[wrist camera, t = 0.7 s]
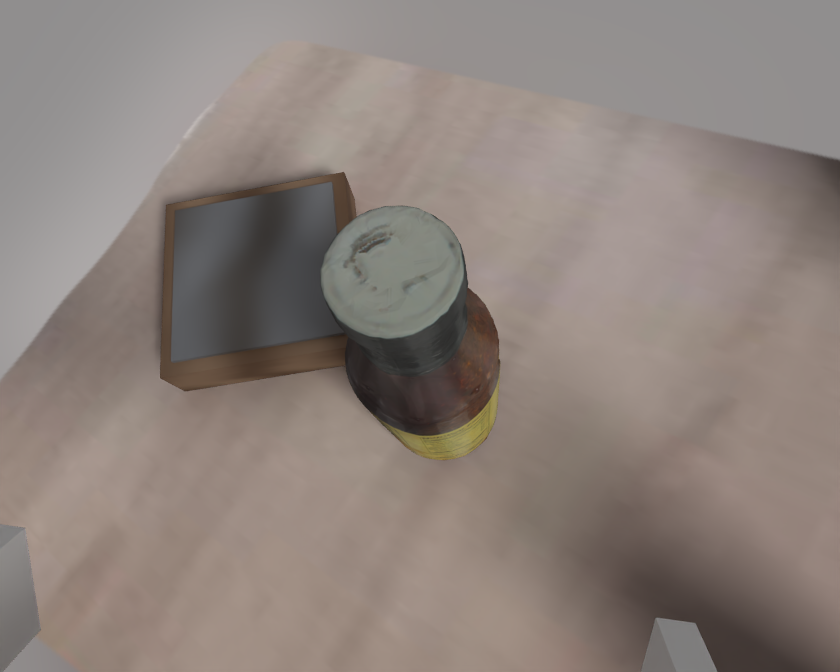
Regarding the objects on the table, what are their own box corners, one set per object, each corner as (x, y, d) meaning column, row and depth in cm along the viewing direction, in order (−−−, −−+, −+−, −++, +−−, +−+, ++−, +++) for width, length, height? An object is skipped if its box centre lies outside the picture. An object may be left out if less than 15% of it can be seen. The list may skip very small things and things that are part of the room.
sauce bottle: (392, 363, 36) (284, 159, 17) (494, 358, 35) (496, 140, 17) (391, 472, 33) (266, 371, 15) (501, 468, 33) (512, 358, 14)
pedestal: (354, 198, 40) (342, 169, 37) (371, 361, 36) (360, 343, 33) (188, 228, 41) (163, 202, 38) (185, 391, 37) (157, 376, 34)
